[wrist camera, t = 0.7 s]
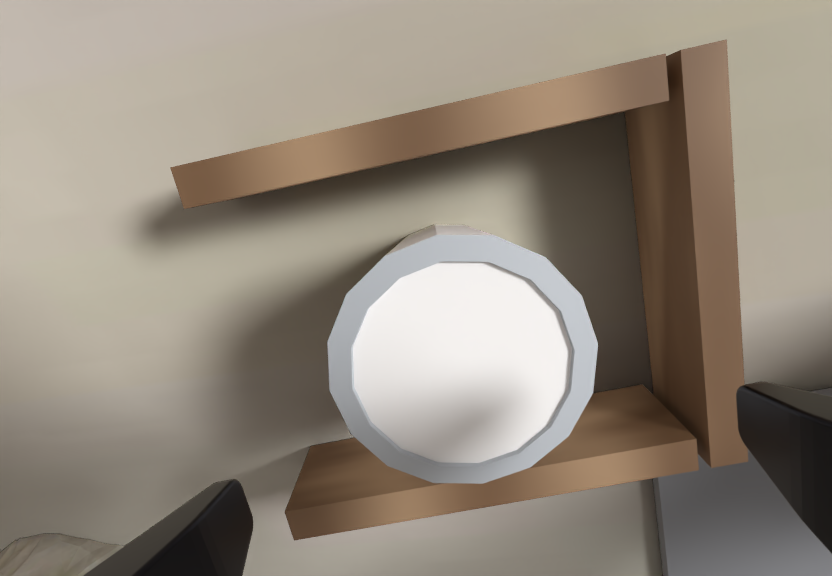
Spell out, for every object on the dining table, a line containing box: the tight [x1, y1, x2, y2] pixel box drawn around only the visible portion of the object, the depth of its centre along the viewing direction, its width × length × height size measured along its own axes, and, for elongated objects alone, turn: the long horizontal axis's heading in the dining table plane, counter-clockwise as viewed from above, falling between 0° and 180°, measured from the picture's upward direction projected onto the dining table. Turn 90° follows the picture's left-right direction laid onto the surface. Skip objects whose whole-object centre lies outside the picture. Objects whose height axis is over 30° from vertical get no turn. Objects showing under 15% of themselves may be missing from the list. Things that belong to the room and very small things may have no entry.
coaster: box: [653, 388, 832, 576], centre depth 21 cm, size 9×9×1 cm
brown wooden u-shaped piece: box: [171, 40, 748, 540], centre depth 17 cm, size 16×13×4 cm
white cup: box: [327, 224, 598, 484], centre depth 15 cm, size 7×7×7 cm
